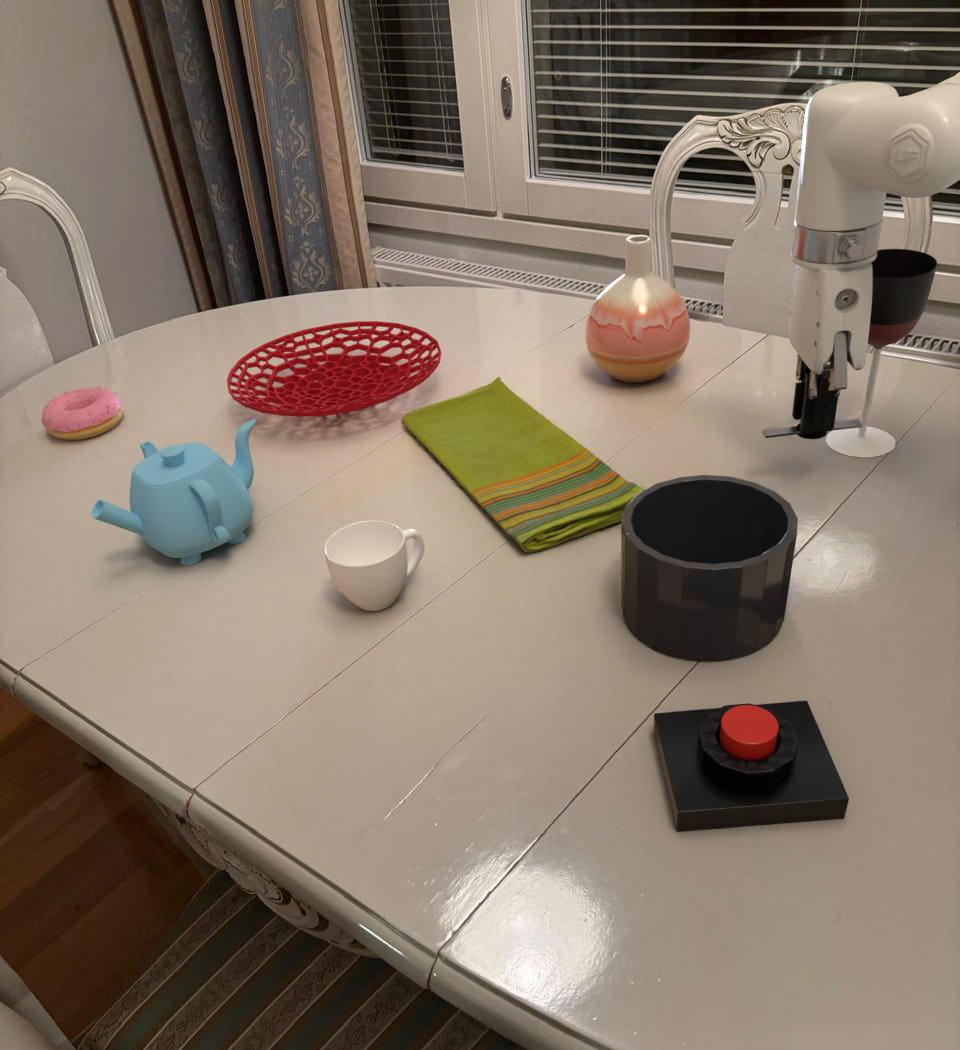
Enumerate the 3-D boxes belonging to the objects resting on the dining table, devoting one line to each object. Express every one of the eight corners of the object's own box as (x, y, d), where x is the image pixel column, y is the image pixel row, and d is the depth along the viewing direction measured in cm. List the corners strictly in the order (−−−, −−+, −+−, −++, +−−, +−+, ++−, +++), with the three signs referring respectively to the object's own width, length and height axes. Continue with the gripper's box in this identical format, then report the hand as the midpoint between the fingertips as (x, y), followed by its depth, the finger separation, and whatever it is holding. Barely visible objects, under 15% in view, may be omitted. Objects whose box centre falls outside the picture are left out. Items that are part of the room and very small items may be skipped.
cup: (324, 596, 92) (309, 541, 88) (408, 557, 96) (398, 502, 92) (361, 633, 87) (347, 576, 83) (448, 590, 91) (439, 534, 87)
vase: (605, 403, 119) (604, 264, 107) (573, 363, 129) (569, 232, 118) (704, 383, 120) (713, 244, 109) (664, 345, 131) (669, 215, 119)
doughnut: (126, 401, 134) (116, 375, 131) (128, 433, 126) (117, 405, 123) (50, 418, 132) (38, 391, 129) (46, 452, 124) (33, 424, 121)
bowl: (365, 465, 112) (358, 427, 109) (191, 427, 125) (180, 393, 122) (483, 367, 131) (480, 333, 128) (321, 344, 144) (315, 312, 140)
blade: (854, 420, 97) (863, 362, 93) (864, 433, 95) (874, 375, 91) (759, 430, 98) (764, 374, 94) (767, 444, 95) (772, 386, 91)
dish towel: (524, 560, 94) (522, 533, 92) (399, 426, 119) (395, 403, 117) (652, 514, 98) (653, 488, 96) (504, 395, 123) (502, 372, 121)
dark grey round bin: (760, 557, 90) (771, 468, 84) (804, 654, 79) (820, 559, 73) (612, 571, 91) (612, 483, 84) (634, 669, 80) (636, 576, 73)
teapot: (172, 502, 110) (141, 415, 103) (280, 502, 107) (255, 413, 100) (114, 578, 99) (74, 487, 91) (233, 580, 96) (202, 487, 89)
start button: (767, 718, 69) (770, 702, 68) (782, 758, 66) (785, 741, 65) (714, 723, 69) (715, 706, 68) (726, 763, 66) (728, 746, 65)
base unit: (803, 719, 73) (810, 683, 71) (844, 818, 65) (853, 781, 63) (653, 732, 74) (654, 696, 71) (676, 831, 66) (678, 795, 63)
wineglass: (812, 450, 105) (839, 273, 92) (838, 418, 110) (867, 245, 97) (884, 465, 101) (923, 282, 88) (907, 431, 106) (947, 253, 93)
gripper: (910, 262, 78) (876, 456, 89) (847, 212, 90) (824, 388, 102) (821, 273, 78) (798, 465, 90) (770, 221, 90) (756, 396, 102)
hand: (812, 422), depth 95 cm, fingers closed on blade, 2 cm apart
